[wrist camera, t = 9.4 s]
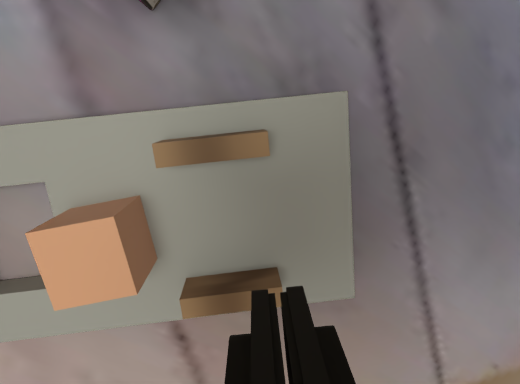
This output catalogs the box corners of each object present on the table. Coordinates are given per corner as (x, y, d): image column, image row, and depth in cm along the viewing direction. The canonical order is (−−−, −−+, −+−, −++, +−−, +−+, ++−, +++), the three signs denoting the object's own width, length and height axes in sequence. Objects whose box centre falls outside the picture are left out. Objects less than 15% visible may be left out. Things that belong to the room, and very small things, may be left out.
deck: (337, 93, 25) (347, 90, 22) (344, 282, 29) (354, 297, 26) (-69, 134, 24) (-104, 136, 21) (-5, 325, 27) (-28, 346, 25)
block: (139, 195, 23) (113, 216, 18) (157, 258, 24) (137, 294, 20) (69, 208, 23) (25, 233, 18) (91, 271, 24) (54, 311, 19)
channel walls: (264, 129, 23) (267, 131, 20) (278, 284, 26) (284, 306, 23) (163, 139, 22) (151, 143, 19) (189, 295, 25) (182, 319, 22)
